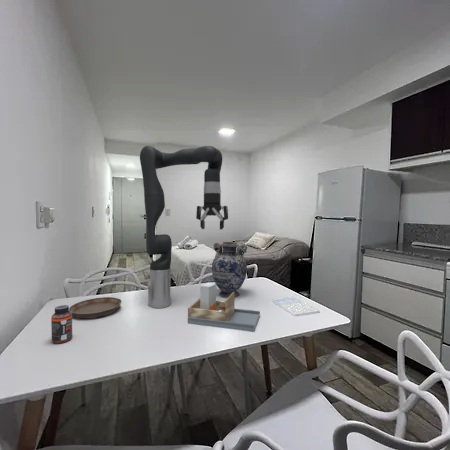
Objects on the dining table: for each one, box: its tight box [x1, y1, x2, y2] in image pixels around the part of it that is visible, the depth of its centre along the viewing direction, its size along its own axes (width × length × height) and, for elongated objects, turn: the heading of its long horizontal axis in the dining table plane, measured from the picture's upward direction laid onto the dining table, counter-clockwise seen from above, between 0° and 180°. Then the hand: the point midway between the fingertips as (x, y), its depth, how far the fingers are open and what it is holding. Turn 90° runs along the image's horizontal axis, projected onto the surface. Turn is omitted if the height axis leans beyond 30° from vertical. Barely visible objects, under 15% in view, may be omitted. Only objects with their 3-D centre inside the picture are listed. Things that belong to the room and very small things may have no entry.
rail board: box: [187, 308, 261, 332], centre depth 105 cm, size 26×15×2 cm, turn 74°
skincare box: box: [199, 282, 217, 311], centre depth 106 cm, size 6×4×12 cm
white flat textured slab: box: [271, 296, 321, 317], centre depth 120 cm, size 13×20×2 cm, turn 19°
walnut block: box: [219, 303, 225, 312], centre depth 108 cm, size 4×4×3 cm
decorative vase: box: [211, 241, 248, 298], centre depth 138 cm, size 21×19×28 cm
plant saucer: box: [69, 296, 122, 319], centre depth 114 cm, size 21×21×3 cm
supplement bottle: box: [50, 304, 73, 344], centre depth 87 cm, size 6×6×11 cm
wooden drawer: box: [187, 292, 236, 321], centre depth 106 cm, size 16×12×9 cm
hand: (212, 229), depth 116 cm, fingers open, 8 cm apart
